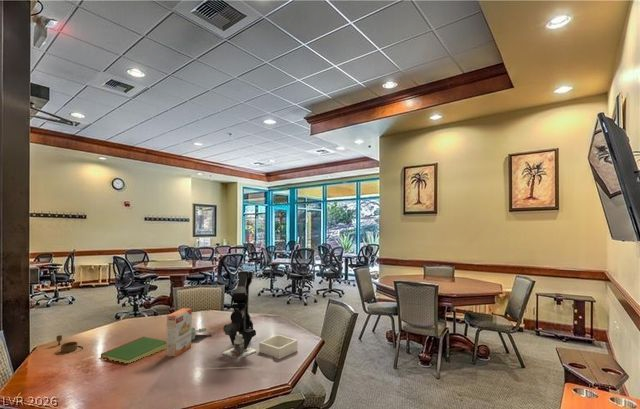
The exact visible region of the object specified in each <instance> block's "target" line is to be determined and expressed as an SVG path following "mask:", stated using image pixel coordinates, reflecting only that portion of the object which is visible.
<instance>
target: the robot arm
mask: <svg viewBox="0 0 640 409" xmlns="http://www.w3.org/2000/svg"><path fill="white" fill-rule="evenodd" d="M253 279H254V272H252V270H240V271H237V280H238V281H237V285H236V286H237V287H236V288H235V289H234V290H233V292H232V294H231V298H230V299H231V300H230V308H233V309H232V310H233V311H232V313H231V314H230V317H229V318H230V321H231V322H230V323H228V324H225V325H224V326H223V332H224V334H225V335H226V336H228V337H229V339H230V342H231V345H232V346H234V340H235V336H236V335H238V334H242V336H243V337H242V339H243V340H244V349H245V350H246V349H247V347H249V344H250V343H251V341H252V339H253V338H254V337H256V335H257V330H255V329H254V323H253V320H252V317H251V314H250V313H249V304H250V302H249V301H250V300H249V299H250V286H251V284H252V282H253Z"/></svg>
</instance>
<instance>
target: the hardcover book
mask: <svg viewBox="0 0 640 409" xmlns="http://www.w3.org/2000/svg"><path fill="white" fill-rule="evenodd" d="M161 350H162V351H164V350H166V340H162V339H158V338H157V339H156V338H152V337H147V336H142V337H140V338H139V337H138V338H137V339H134V340H132V341H128V342H127V343H124V344H122V345H120V346H116V347H114V348H112V349H108V350H107V351H105V352H102V353H100V358H102V359H104V360H107V359H109V360H108V361H112V360H114V361H113V362H116V361H119V362H118V363H121V362H124V363H123V364H126V363H130V364H131V362H132V363H134V362H137V361H139V360H142V359H144V358H147V357H149V356H152V355H154V354H157V353H159V352H161ZM156 352H157V353H156ZM151 354H152V355H151ZM146 356H147V357H146ZM143 357H144V358H143ZM141 358H142V359H141ZM138 359H139V360H138ZM136 360H137V361H136ZM133 361H134V362H133Z"/></svg>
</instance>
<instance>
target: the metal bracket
mask: <svg viewBox="0 0 640 409" xmlns="http://www.w3.org/2000/svg"><path fill="white" fill-rule="evenodd" d="M196 333H200V334H201V333H202V334H203V333H214V330H207V327H204V328H199V329H196V328H195V327H191V340H195V339H196Z"/></svg>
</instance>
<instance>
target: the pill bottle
mask: <svg viewBox="0 0 640 409" xmlns="http://www.w3.org/2000/svg"><path fill="white" fill-rule="evenodd" d="M242 337H243V336H242V334H239V333H237V335H236V336H235V340H234V345H233V348H234V352H233V353H234V354H237V355H240V354H242V353H245V352H246V351H245V349H244V340H243V339H242Z"/></svg>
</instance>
